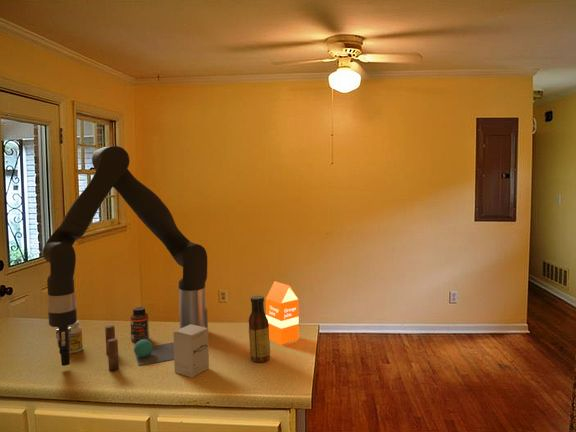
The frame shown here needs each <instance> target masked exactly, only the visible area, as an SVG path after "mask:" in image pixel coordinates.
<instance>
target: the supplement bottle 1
mask: <svg viewBox="0 0 576 432" xmlns="http://www.w3.org/2000/svg"><path fill="white" fill-rule="evenodd" d="M70 327H71V345H70V347H69V348H70V351H69V354H71V353H72V354H74V352H75V353H78V352H80V351H82V350H83V348H84V345H83V331H82V327H81V326H80V321H79V320H78V319H77V322H76V323H74V324H72V325H69V326H68V328H70Z"/></svg>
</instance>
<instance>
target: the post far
mask: <svg viewBox="0 0 576 432" xmlns="http://www.w3.org/2000/svg"><path fill="white" fill-rule="evenodd" d="M115 330H116V328H115V325H111V324H110V325H106V326H104V331H105V334H104V335H105V349H106V350H105V351H106V353H105V354H106V356H108V343H107V341H108V340H109V339H116V332H115Z"/></svg>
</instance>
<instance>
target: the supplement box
mask: <svg viewBox="0 0 576 432" xmlns="http://www.w3.org/2000/svg"><path fill="white" fill-rule="evenodd" d="M172 333H173V342H174V360H173V361H174V363H173V364H174V366H173V367H174V372H175V373H176V374H180V375H183V376H187V377H188V378H194V377H195V376H197V375H199V374H201V373H202V372H205V371H206V370H208V369H210V359H209V358H210V357H209V356H210V355H209V353H210V352H209V349H210V348H209V327H208V328H205V327H201V326H196V325H192V324H190V325H188V326H185V327H183V328H181V329H180V328H179V329H175V330H174V331H173V332H172Z"/></svg>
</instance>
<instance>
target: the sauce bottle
mask: <svg viewBox="0 0 576 432" xmlns="http://www.w3.org/2000/svg"><path fill="white" fill-rule="evenodd" d="M250 302H251V313H250V315H249V318H248V336H249V354H250V359H251V361H252V362H256V363H264V362H267V361H269V359H270V358H271V355H270V354H271V343H270V340H269V323H268V320H267V317H266V311H265V306H264V303H265V297H264V296H262V295H253V296H251V297H250Z"/></svg>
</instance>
